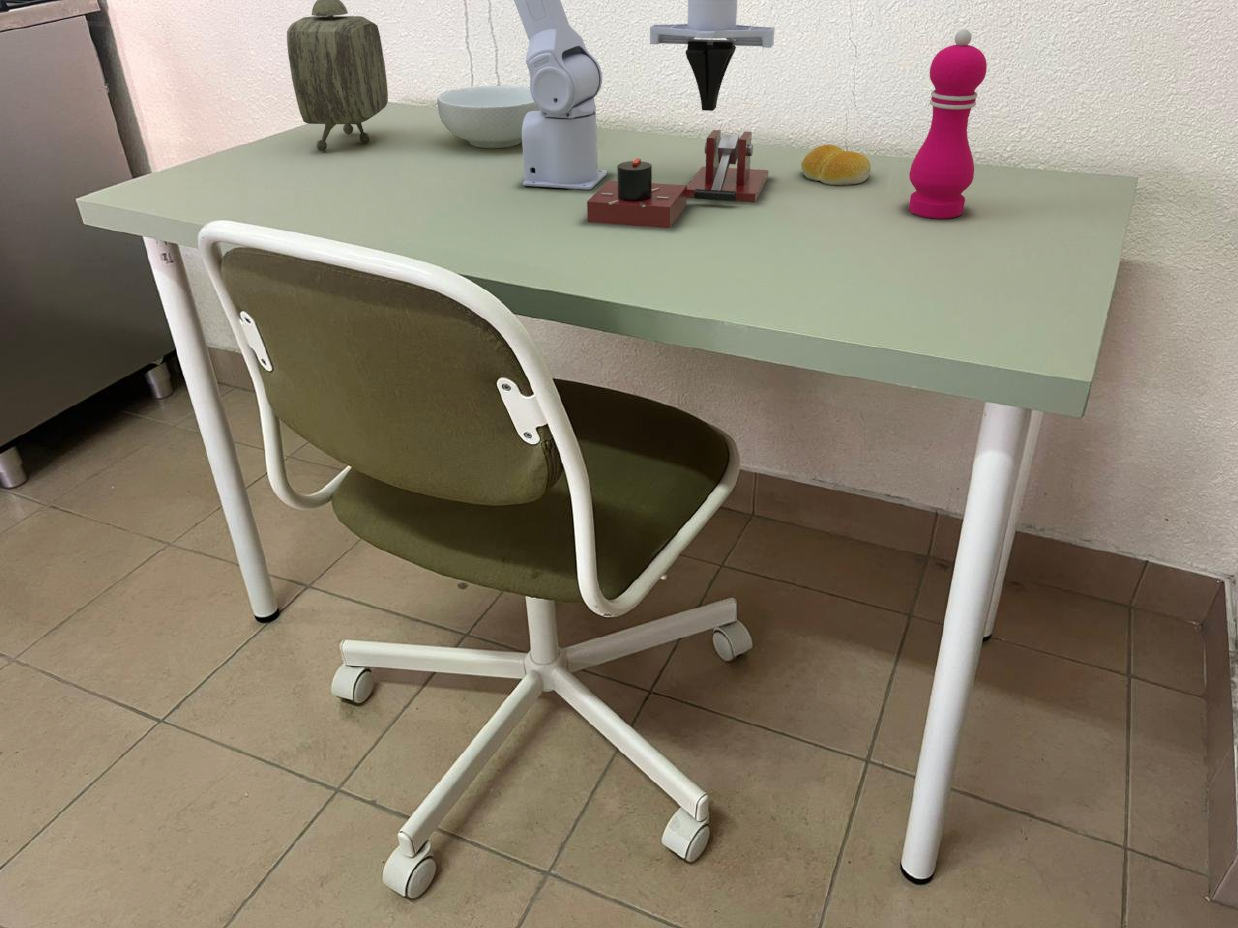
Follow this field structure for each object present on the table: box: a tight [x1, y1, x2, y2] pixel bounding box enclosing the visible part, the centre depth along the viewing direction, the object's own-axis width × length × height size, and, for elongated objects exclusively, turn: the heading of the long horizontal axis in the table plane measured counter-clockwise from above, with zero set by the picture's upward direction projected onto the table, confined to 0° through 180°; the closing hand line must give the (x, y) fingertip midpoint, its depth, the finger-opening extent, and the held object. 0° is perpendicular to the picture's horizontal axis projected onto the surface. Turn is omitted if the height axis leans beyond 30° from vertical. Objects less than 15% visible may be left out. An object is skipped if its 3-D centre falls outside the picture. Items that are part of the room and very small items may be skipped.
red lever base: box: [686, 129, 769, 203], centre depth 122 cm, size 11×9×7 cm
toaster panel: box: [586, 180, 688, 229], centre depth 114 cm, size 10×10×3 cm
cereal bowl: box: [436, 85, 540, 149], centre depth 145 cm, size 17×17×7 cm
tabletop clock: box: [286, 0, 389, 152], centre depth 142 cm, size 14×9×25 cm, turn 172°
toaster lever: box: [693, 133, 740, 202], centre depth 119 cm, size 11×5×2 cm, turn 164°
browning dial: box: [616, 158, 653, 201], centre depth 112 cm, size 4×4×4 cm
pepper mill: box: [908, 29, 988, 220], centre depth 109 cm, size 7×7×20 cm
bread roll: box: [800, 144, 872, 186], centre depth 126 cm, size 8×9×4 cm
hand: (709, 109), depth 117 cm, fingers closed
